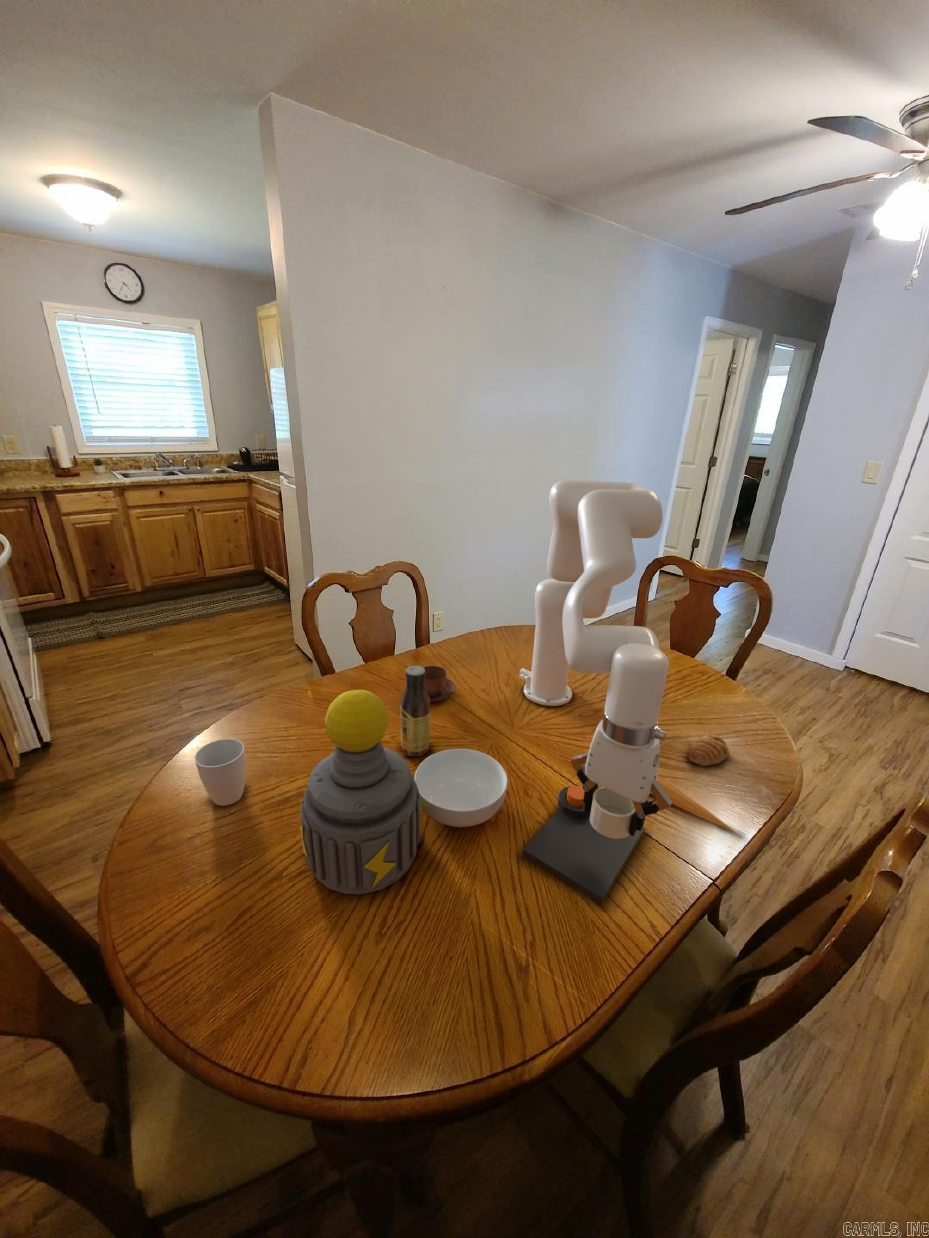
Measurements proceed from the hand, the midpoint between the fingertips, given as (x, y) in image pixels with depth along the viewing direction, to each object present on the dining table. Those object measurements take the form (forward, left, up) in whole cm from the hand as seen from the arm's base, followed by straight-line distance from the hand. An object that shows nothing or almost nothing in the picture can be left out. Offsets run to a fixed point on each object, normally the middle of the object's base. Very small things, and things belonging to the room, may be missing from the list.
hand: (611, 818), depth 81 cm
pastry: (+6, +40, -8) cm, 41 cm away
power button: (-9, +6, -6) cm, 12 cm away
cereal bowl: (-26, -7, -8) cm, 28 cm away
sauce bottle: (-44, 0, -8) cm, 44 cm away
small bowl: (0, 0, -1) cm, 1 cm away
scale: (-4, 0, -8) cm, 9 cm away
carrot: (+6, +20, -8) cm, 23 cm away
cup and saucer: (-57, +20, -8) cm, 61 cm away
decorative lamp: (-32, -25, -8) cm, 41 cm away
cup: (-61, -33, -8) cm, 69 cm away
